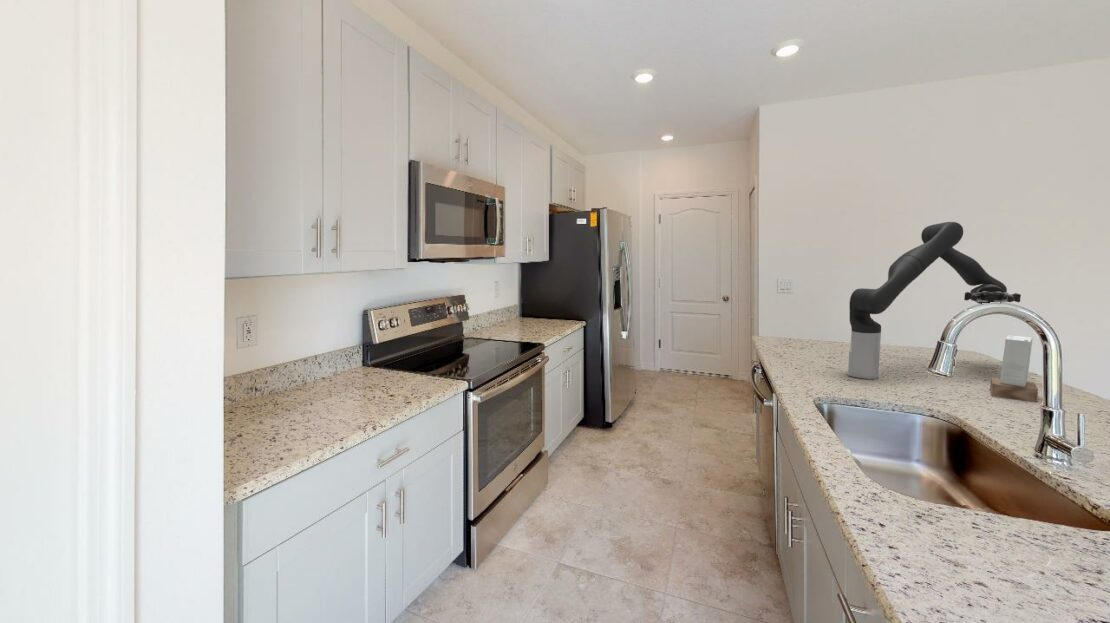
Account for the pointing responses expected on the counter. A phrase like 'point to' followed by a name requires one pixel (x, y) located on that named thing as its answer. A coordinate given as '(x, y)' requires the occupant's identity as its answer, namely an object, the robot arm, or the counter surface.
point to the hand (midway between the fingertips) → (992, 298)
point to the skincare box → (1016, 360)
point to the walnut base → (1014, 390)
